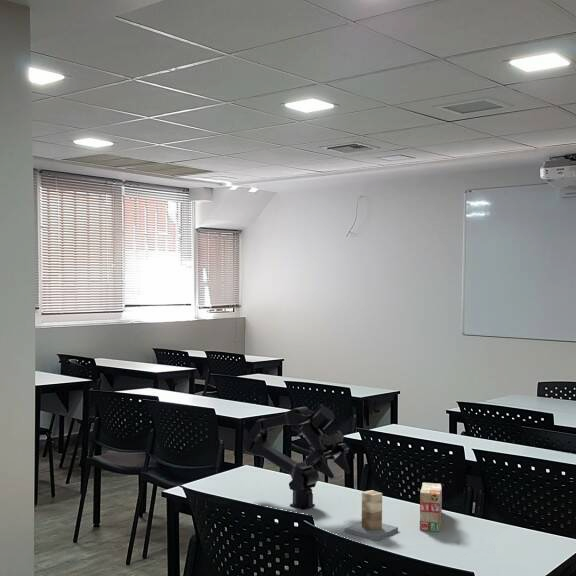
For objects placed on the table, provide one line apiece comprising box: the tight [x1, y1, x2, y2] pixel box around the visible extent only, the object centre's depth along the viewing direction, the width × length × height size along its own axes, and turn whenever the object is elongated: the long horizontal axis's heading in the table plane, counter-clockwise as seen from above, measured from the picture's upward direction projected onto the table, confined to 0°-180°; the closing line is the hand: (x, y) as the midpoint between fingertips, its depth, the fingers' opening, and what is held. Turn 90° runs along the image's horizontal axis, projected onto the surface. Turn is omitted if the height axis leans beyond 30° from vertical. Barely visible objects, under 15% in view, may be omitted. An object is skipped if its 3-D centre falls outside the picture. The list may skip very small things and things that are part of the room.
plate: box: [344, 520, 399, 541], centre depth 227 cm, size 12×12×1 cm
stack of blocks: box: [419, 482, 443, 533], centre depth 238 cm, size 21×6×12 cm, turn 166°
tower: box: [361, 489, 383, 531], centre depth 227 cm, size 4×4×11 cm
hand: (341, 475), depth 242 cm, fingers open, 9 cm apart
